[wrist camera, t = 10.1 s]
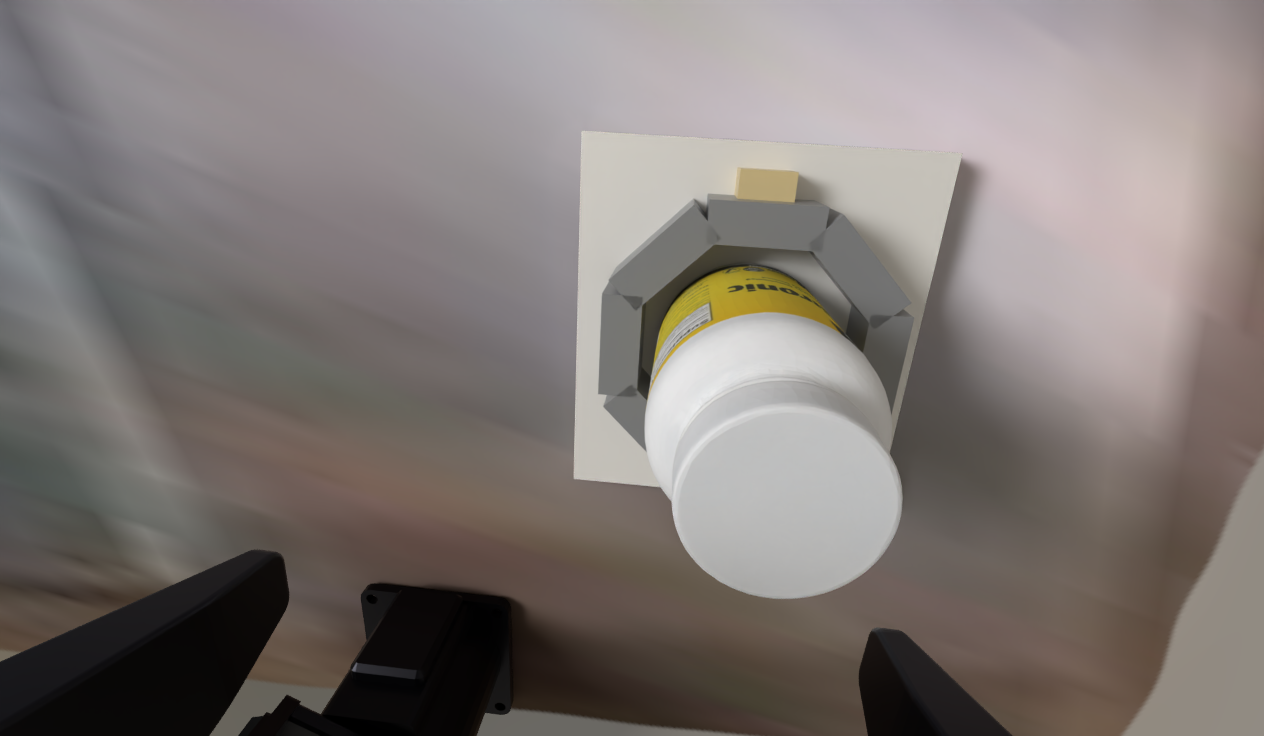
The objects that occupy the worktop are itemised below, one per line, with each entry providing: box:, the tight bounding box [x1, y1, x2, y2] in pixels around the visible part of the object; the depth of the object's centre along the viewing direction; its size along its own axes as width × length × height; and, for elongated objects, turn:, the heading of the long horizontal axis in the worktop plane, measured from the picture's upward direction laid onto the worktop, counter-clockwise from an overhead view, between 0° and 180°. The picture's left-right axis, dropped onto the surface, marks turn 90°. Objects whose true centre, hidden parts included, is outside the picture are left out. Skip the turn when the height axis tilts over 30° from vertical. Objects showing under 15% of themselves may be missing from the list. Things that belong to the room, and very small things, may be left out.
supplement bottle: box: [645, 263, 903, 599], centre depth 15 cm, size 5×5×10 cm
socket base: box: [574, 131, 962, 487], centre depth 19 cm, size 12×11×3 cm
